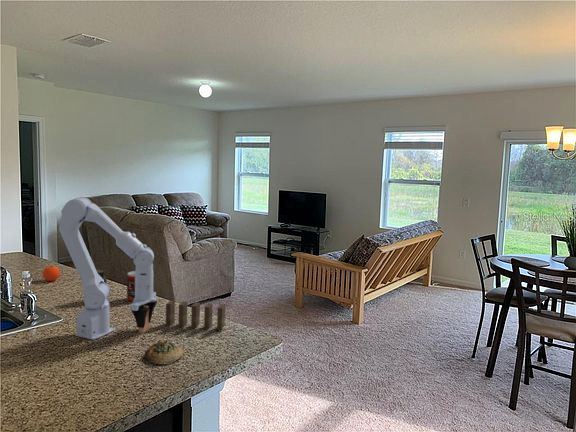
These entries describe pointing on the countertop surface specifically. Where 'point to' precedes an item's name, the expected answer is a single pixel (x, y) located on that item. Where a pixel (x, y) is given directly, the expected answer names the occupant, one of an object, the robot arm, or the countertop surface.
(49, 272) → the clementine
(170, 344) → the bread roll
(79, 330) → the robot arm
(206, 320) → the domino
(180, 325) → the domino
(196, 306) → the domino
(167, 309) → the domino
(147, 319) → the domino
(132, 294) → the canned food
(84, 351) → the countertop surface
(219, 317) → the domino
